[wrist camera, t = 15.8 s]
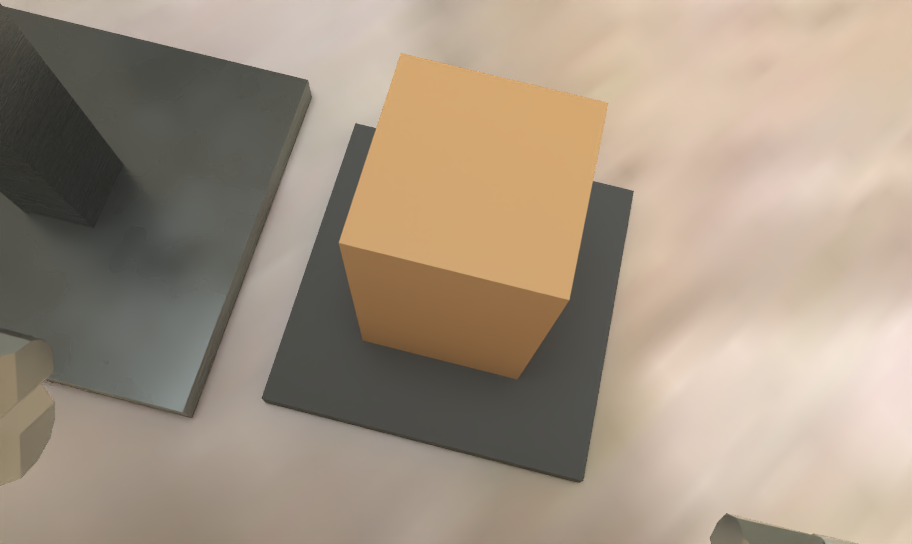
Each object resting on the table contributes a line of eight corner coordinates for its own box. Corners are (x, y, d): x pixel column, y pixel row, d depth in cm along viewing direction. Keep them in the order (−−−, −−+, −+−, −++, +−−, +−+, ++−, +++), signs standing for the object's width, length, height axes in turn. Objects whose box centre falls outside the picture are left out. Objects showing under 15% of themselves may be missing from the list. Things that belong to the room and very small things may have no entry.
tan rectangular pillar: (362, 340, 23) (339, 242, 15) (404, 201, 25) (400, 53, 17) (517, 379, 23) (569, 299, 15) (548, 236, 24) (608, 102, 17)
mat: (265, 401, 23) (261, 398, 22) (356, 132, 26) (355, 123, 26) (578, 482, 22) (583, 480, 22) (628, 198, 26) (633, 191, 25)
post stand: (-177, 322, 23) (-525, 193, 14) (-1, 20, 27) (-190, -218, 18) (192, 417, 22) (58, 342, 14) (311, 96, 26) (265, -112, 18)
